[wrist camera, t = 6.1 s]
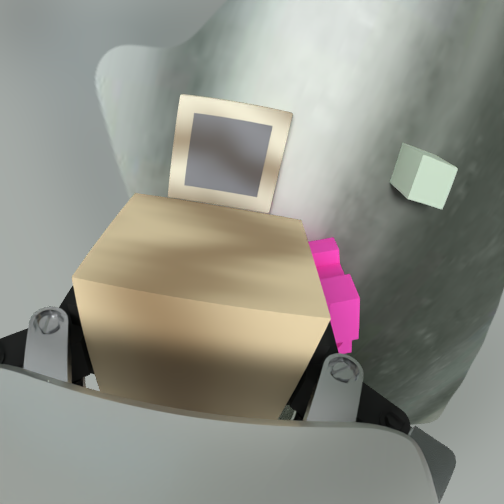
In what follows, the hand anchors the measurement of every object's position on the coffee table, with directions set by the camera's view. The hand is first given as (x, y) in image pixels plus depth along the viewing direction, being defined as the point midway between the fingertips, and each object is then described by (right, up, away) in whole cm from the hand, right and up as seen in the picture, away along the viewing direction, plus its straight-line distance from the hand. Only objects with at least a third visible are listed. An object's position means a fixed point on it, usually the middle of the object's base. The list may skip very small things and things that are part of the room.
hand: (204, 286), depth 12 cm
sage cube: (+19, +10, +17) cm, 27 cm away
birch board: (0, +11, +17) cm, 20 cm away
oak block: (0, 0, +1) cm, 1 cm away
